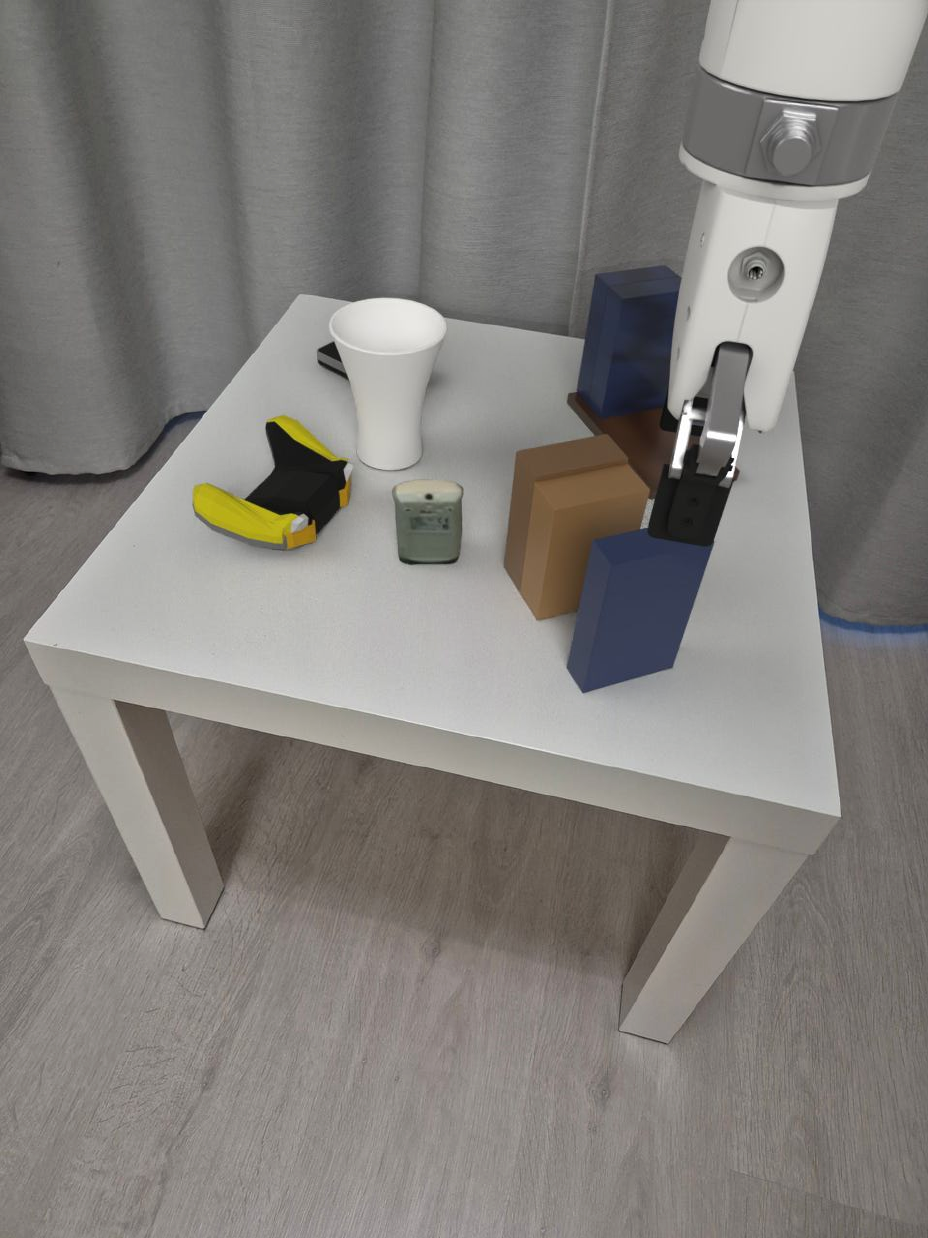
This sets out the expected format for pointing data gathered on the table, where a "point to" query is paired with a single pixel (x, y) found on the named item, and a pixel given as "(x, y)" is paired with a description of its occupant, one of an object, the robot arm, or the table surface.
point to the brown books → (567, 517)
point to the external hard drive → (331, 359)
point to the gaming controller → (281, 493)
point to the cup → (388, 373)
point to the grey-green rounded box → (428, 521)
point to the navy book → (633, 607)
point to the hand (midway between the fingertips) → (682, 481)
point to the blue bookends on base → (631, 366)
